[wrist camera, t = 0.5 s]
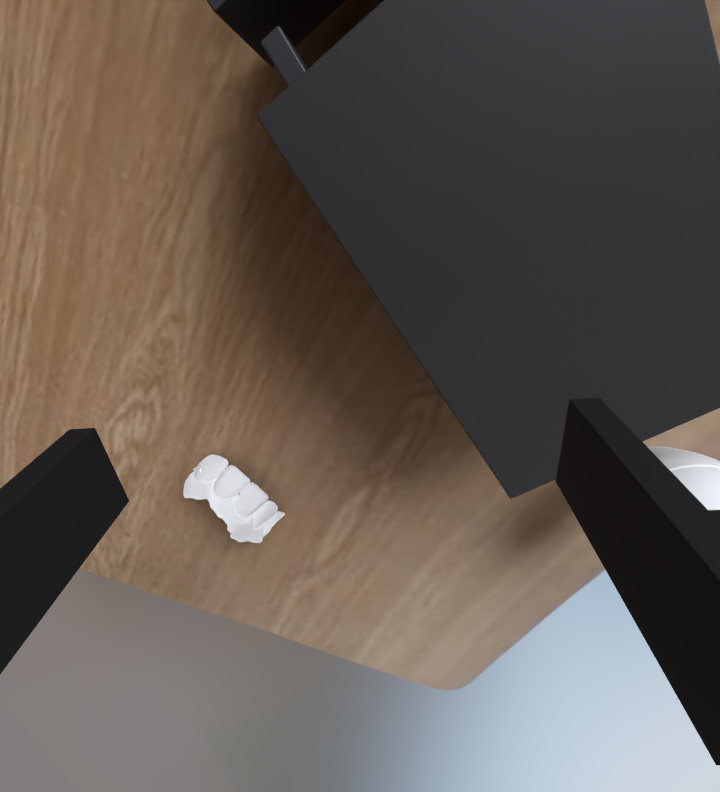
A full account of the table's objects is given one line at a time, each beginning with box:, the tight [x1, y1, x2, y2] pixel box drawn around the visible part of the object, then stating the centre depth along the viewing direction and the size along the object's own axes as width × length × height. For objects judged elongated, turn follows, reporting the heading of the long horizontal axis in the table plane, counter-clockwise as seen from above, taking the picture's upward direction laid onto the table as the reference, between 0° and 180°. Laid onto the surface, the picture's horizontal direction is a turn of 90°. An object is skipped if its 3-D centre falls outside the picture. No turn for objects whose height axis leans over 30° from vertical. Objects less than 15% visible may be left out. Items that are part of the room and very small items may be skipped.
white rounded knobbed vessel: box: [647, 446, 720, 510], centre depth 26 cm, size 8×8×12 cm
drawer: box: [207, 0, 345, 86], centre depth 17 cm, size 24×11×8 cm, turn 34°
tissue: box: [183, 455, 285, 543], centre depth 33 cm, size 6×8×4 cm
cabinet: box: [257, 0, 720, 499], centre depth 20 cm, size 20×13×10 cm, turn 34°
